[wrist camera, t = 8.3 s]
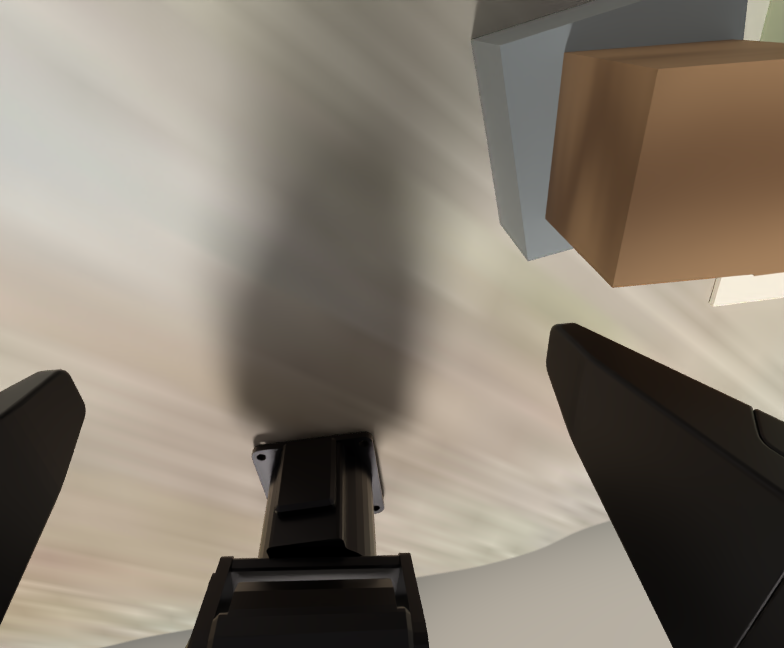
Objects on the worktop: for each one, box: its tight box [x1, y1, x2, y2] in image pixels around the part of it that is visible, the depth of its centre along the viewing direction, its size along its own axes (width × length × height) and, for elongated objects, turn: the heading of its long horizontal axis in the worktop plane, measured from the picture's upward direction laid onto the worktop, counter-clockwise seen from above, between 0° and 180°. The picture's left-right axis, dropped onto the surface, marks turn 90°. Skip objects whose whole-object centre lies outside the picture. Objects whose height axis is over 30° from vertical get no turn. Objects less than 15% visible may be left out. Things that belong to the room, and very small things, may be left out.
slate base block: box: [471, 0, 748, 261], centre depth 17 cm, size 7×7×4 cm
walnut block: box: [545, 39, 784, 288], centre depth 13 cm, size 5×5×5 cm
